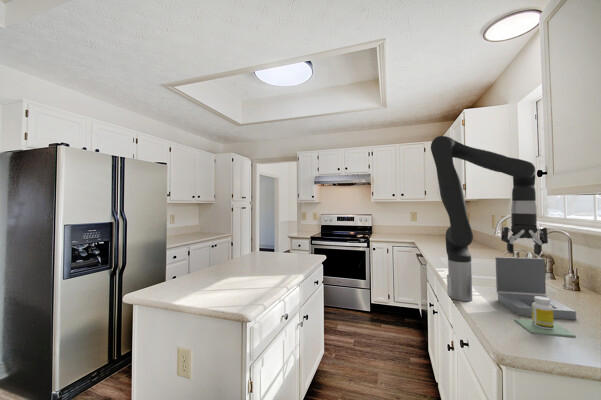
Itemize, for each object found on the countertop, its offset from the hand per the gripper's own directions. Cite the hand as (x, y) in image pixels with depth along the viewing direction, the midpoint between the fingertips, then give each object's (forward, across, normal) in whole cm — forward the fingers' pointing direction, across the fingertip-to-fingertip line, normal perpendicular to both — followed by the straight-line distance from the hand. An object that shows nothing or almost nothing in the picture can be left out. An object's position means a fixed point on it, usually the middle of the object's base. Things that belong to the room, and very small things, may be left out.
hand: (523, 253), depth 101 cm
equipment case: (+23, +6, +6) cm, 25 cm away
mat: (+24, 0, -12) cm, 26 cm away
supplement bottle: (+23, 0, -12) cm, 26 cm away
